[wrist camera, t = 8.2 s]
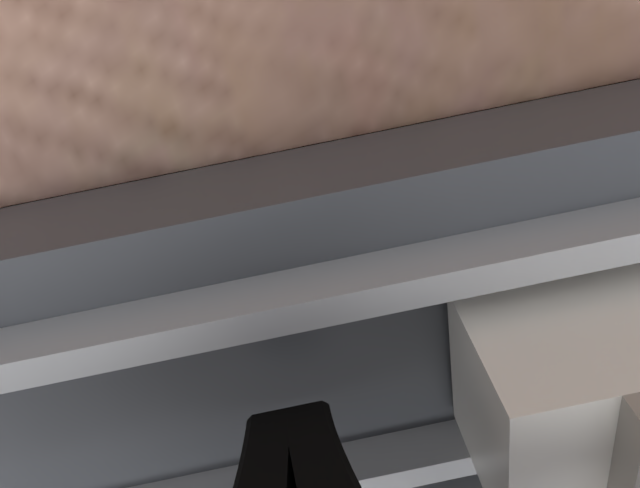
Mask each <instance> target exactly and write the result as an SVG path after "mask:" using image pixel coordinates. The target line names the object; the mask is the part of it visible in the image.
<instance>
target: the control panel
mask: <svg viewBox="0 0 640 488" xmlns="http://www.w3.org/2000/svg"><path fill="white" fill-rule="evenodd" d="M636 263H640V79H637V80H632V81H627V82H622V83H617V84H613V85H608V86H603V87H598V88H593V89H588V90H583V91H578V92H573V93H568V94H563V95H558V96H553V97H548V98H543V99H538V100H533V101H529V102H524V103H519V104H514V105H509V106H504V107H499V108H494V109H489V110H484V111H479V112H474V113H469V114H464V115H459V116H454V117H449V118H445V119H440V120H435V121H430V122H425V123H420V124H415V125H410V126H405V127H400V128H395V129H390V130H385V131H380V132H375V133H370V134H365V135H361V136H356V137H351V138H346V139H341V140H336V141H331V142H326V143H321V144H316V145H311V146H306V147H301V148H296V149H291V150H286V151H281V152H277V153H272V154H267V155H262V156H257V157H252V158H247V159H242V160H237V161H232V162H227V163H222V164H217V165H212V166H207V167H202V168H197V169H193V170H188V171H183V172H178V173H173V174H168V175H163V176H158V177H153V178H148V179H143V180H138V181H133V182H128V183H123V184H118V185H113V186H109V187H104V188H99V189H94V190H89V191H84V192H79V193H74V194H69V195H64V196H59V197H54V198H49V199H44V200H39V201H34V202H29V203H25V204H20V205H15V206H10V207H5V208H0V488H233V485H234V481H235V477H236V473H237V469H238V465H239V461H240V456H241V452H242V446H243V441H244V436H245V430H246V423H247V420H248V419H249V418H250V416H251V415H253V414H258V413H263V412H268V411H273V410H278V409H282V408H287V407H292V406H297V405H302V404H307V403H311V402H316V401H321V400H322V401H324V402H326V403H328V404H329V406H330V410H331V415H332V418H333V422H334V425H335V428H336V431H337V434H338V436H339V439H340V441H341V444H342V446H343V449H344V451H345V453H346V456H347V458H348V460H349V462H350V464H351V467H352V469H353V471H354V473H355V475H356V477H357V479H358V481H359V483H360V485H361V487H362V488H482V485H481V482H480V480H479V477H478V475H477V472H476V470H475V467H474V465H473V462H472V460H471V457H470V455H469V452H468V450H467V447H466V444H465V442H464V439H463V437H462V434H461V432H460V429H459V427H458V424H457V422H456V419H455V417H454V409H453V392H452V375H451V358H450V342H449V325H448V308H447V302H451V301H456V300H461V299H466V298H471V297H476V296H480V295H485V294H490V293H495V292H500V291H505V290H510V289H514V288H519V287H524V286H529V285H534V284H539V283H544V282H548V281H553V280H558V279H563V278H568V277H573V276H578V275H582V274H587V273H592V272H597V271H602V270H607V269H612V268H616V267H621V266H626V265H631V264H636Z"/></svg>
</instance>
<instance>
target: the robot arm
mask: <svg viewBox="0 0 640 488" xmlns="http://www.w3.org/2000/svg"><path fill="white" fill-rule="evenodd" d="M233 488H362V487H361V485H360V483H359V481H358V479H357V477H356V475H355V473H354V471H353V469H352V467H351V464H350V462H349V460H348V458H347V456H346V453H345V451H344V449H343V446H342V444H341V441H340V439H339V436H338V434H337V431H336V428H335V425H334V422H333V418H332V415H331V410H330V406H329V404H328V403H326V402H324V401H322V400H321V401H316V402H311V403H307V404H302V405H297V406H292V407H287V408H282V409H278V410H273V411H268V412H263V413H258V414H253V415H251V416H250V418H249V419H248V420H247V423H246V430H245V436H244V441H243V446H242V452H241V456H240V461H239V465H238V469H237V473H236V477H235V481H234V485H233Z"/></svg>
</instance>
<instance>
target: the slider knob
mask: <svg viewBox="0 0 640 488" xmlns="http://www.w3.org/2000/svg"><path fill="white" fill-rule="evenodd" d="M447 308H448V325H449V342H450V358H451V375H452V392H453V409H454V417H455V419H456V422H457V424H458V427H459V429H460V432H461V434H462V437H463V439H464V442H465V444H466V447H467V450H468V452H469V455H470V457H471V460H472V462H473V465H474V467H475V470H476V472H477V475H478V477H479V480H480V482H481V485H482V488H640V263H636V264H631V265H626V266H621V267H616V268H612V269H607V270H602V271H597V272H592V273H587V274H582V275H578V276H573V277H568V278H563V279H558V280H553V281H548V282H544V283H539V284H534V285H529V286H524V287H519V288H514V289H510V290H505V291H500V292H495V293H490V294H485V295H480V296H476V297H471V298H466V299H461V300H456V301H451V302H447Z"/></svg>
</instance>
